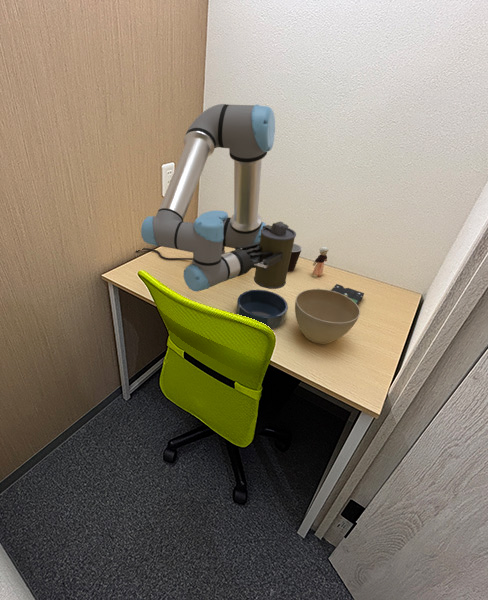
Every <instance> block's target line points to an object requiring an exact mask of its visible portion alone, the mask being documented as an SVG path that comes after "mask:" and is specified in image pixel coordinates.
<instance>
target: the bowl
mask: <svg viewBox="0 0 488 600" xmlns="http://www.w3.org/2000/svg"><path fill="white" fill-rule="evenodd" d="M288 309H289V306H288V302H287V301H286V299H285V298H284V297H282V296H281V295H279V294H278V293H276V292H274V291H269V290H266V289H249V290H247V291H246V290H245V291H244V292H242V293H241V294H240V295H239V296H238V297H237V302H236V309H235V311H236V312H235V314H236V315H237V314H239V315H242V316H246V317H249V318H252V319H255V320H257V321H259V322H262V323H264V324H266V325H267V326H269V327H270V328H271V329H270V330H274V329H278V328H280V327H281V326H283V324H284V323H285V322H286V318H287V314H288Z"/></svg>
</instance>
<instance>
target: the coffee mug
mask: <svg viewBox="0 0 488 600" xmlns="http://www.w3.org/2000/svg"><path fill="white" fill-rule="evenodd" d="M302 250H303V247H302V246H301V245H300V244H297V243H294V244H293V248H292V253H291V258H290V262H289V267H288V272H287V273H293V272H294V271H295V268H296V265H297V263H298V261H299V259H300V256H301V252H302Z"/></svg>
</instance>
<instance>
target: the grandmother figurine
mask: <svg viewBox="0 0 488 600" xmlns="http://www.w3.org/2000/svg"><path fill="white" fill-rule="evenodd" d="M328 252H329V248H328V247H326V246H322V247H320V248H319V255H318V256H317V257H316V258H315V260H314V262H313V263H312V266H313V271H312V274H311V276H312V277H313V278H319V277H321V276H323V275H324V274H323V273H324V269H325V268H324V266H325V262H327V261H328V255H327V254H328Z"/></svg>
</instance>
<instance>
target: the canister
mask: <svg viewBox="0 0 488 600" xmlns="http://www.w3.org/2000/svg"><path fill="white" fill-rule="evenodd" d="M296 237H297V232H296V231H295V230H293V229H292V228H290V226H289V225H288V224H286V223H284V222H283V221H277V222H273V223H272V224H271V225H270V224H266V225H265V226H263V228H262V229H261V238H260V245H259V246H260V247H262V250H261V253H263V252H267V251H270V252H273V255H274V254H276V253H281V252H282V253H283V257H282V260H281V261H279V262H277V263H275V264H274V265H272V266H270V267H268V269H267V270H263V268H262V267H259V266H258V267H257V268H255V272H254V276H253V282H254V283H255V285H258V286H259V287H261V288H264V289H267V290H278V289H281V288H283V287H285V286H286V284H287V275H288V273H289V272H288V267H289V262H290V258H291V253H292V248H293V244H295V239H296Z"/></svg>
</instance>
